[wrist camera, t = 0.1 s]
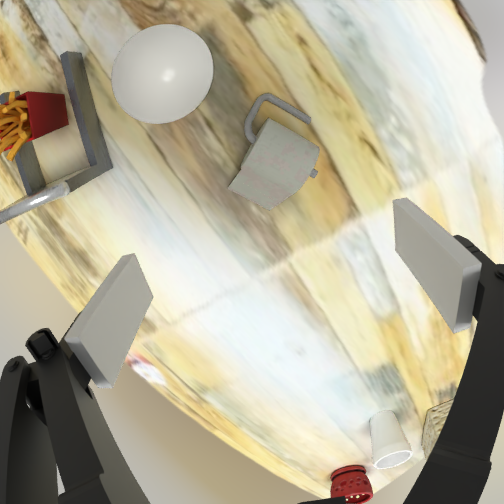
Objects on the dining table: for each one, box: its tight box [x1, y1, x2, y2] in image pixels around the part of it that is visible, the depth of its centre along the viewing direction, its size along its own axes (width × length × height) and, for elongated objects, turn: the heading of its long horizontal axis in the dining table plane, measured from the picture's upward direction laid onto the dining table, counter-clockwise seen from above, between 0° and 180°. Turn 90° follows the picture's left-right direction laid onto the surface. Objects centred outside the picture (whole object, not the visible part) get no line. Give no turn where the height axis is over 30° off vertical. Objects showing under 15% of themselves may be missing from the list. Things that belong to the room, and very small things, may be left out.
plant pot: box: [330, 466, 373, 504], centre depth 77 cm, size 13×13×12 cm
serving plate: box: [111, 24, 214, 124], centre depth 36 cm, size 14×14×1 cm
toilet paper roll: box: [227, 93, 320, 211], centre depth 40 cm, size 10×11×12 cm
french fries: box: [0, 91, 69, 161], centre depth 32 cm, size 9×8×15 cm
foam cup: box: [370, 410, 413, 469], centre depth 62 cm, size 10×9×13 cm
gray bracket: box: [0, 51, 113, 224], centre depth 33 cm, size 19×14×14 cm
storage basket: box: [421, 399, 454, 461], centre depth 64 cm, size 24×16×15 cm
